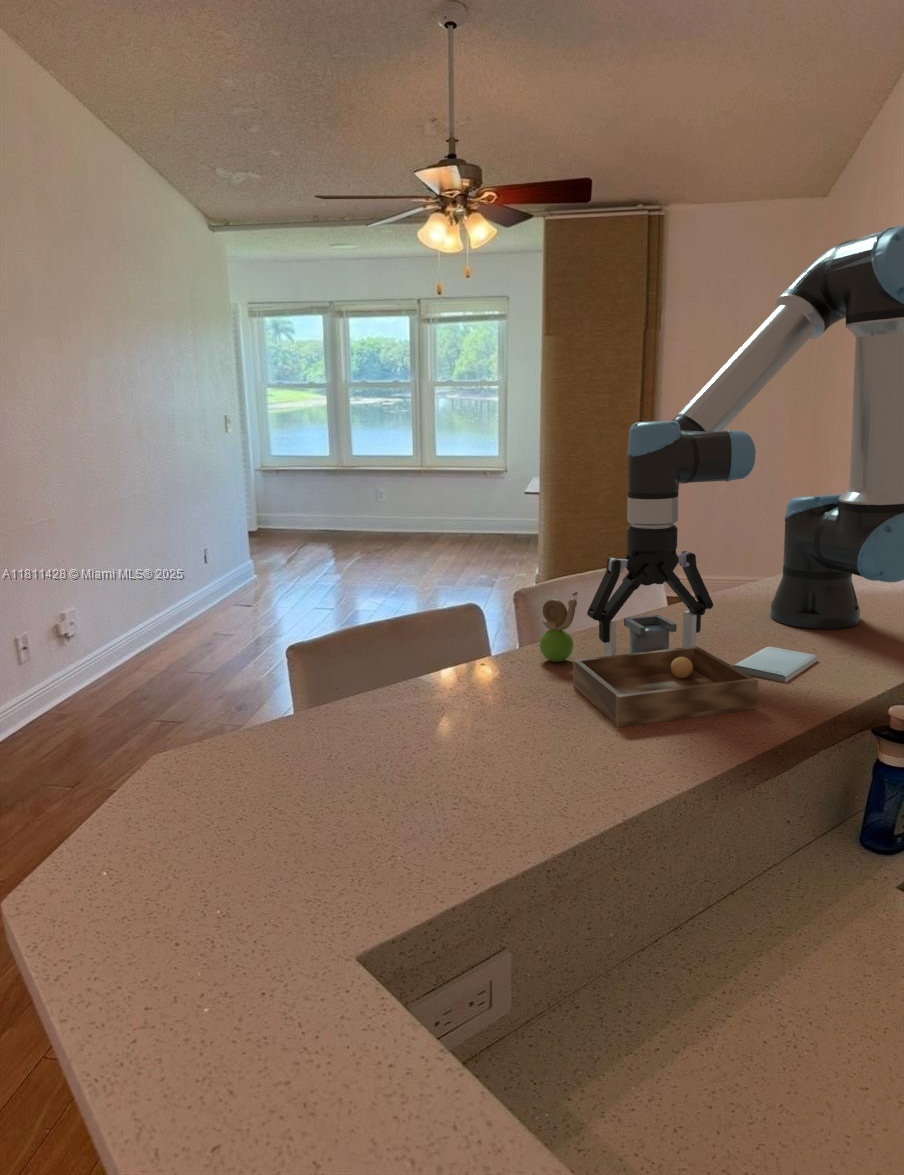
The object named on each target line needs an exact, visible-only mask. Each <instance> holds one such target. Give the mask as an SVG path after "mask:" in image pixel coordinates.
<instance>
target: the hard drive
mask: <svg viewBox="0 0 904 1175" xmlns="http://www.w3.org/2000/svg"><path fill="white" fill-rule="evenodd" d="M816 662H818V656H817V655H816V654H813V653H809V652H807V653H806V652H801V651H796V650H791V649H786V648H785V649H784V648H781V647H773V646H766V647H764V648H762V649H760V650H759V651H757V652H755V653H753V654H752V655H749V656H747V657H746V658H744V659H742V660H741V661H738V662H737V663H735V664H733V665H732V666H733V667H735V668H737V669H739V670H741V671H742V672H744V673H746V674H748V675H750V676H752V677H757V678H762V679H768V680H772V681H775V682H780V683H787V682H789V681H790V680H792V679H794V677H796V676H798V675H799V674H801V673H802V672H804V671H805V670H806V669H808V668H810V667H811V666H812V665H814V664H815V663H816Z"/></svg>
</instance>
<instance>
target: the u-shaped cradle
mask: <svg viewBox="0 0 904 1175" xmlns="http://www.w3.org/2000/svg"><path fill="white" fill-rule="evenodd" d="M623 626H624V627H625V628H627V629H629V654H631V653H640V652H649V651H658V650H667V649H670V632H671V633H675V632H677V623H675V622H674V621H672V620H670V619H667V618H666V617H664V616H662V615H661V614H651V615H641V616H632V617H630V616H629V617H624V618H623Z"/></svg>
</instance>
